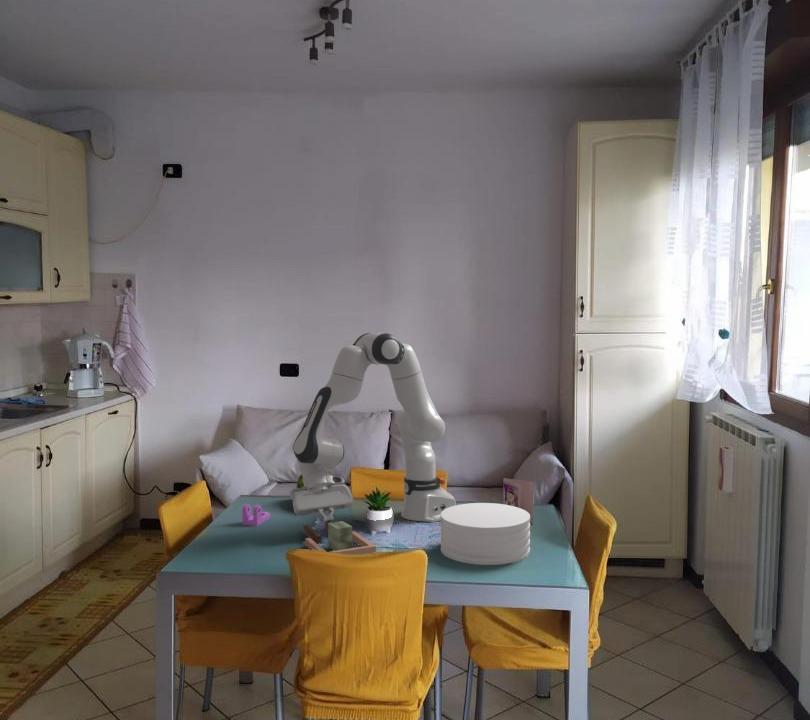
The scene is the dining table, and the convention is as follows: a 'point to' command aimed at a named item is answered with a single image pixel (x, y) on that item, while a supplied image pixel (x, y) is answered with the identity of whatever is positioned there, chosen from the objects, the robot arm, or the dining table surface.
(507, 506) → the plate stack
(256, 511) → the bracket
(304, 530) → the walnut chute
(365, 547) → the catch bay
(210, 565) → the dining table surface
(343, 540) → the sage block
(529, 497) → the greeting card
